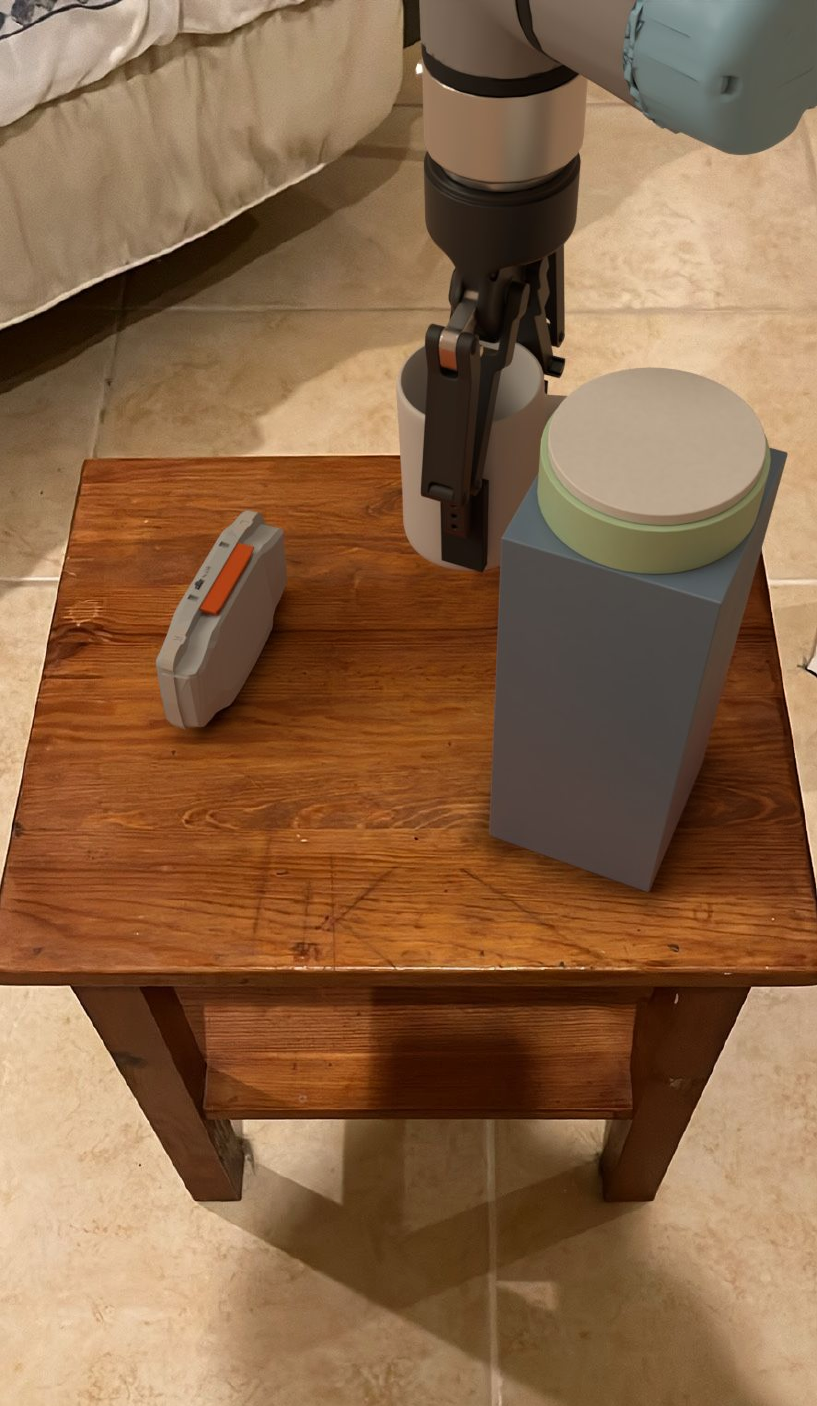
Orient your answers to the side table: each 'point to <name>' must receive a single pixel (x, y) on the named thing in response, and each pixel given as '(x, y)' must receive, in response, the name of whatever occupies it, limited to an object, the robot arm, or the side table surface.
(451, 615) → the side table surface
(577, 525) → the round tin
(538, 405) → the mug
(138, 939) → the side table surface
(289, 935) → the side table surface
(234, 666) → the grey case
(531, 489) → the stand
